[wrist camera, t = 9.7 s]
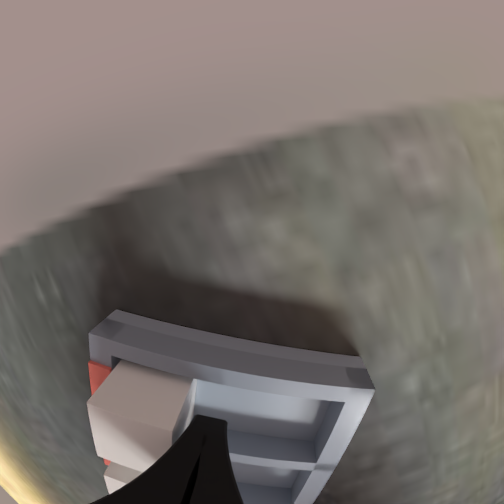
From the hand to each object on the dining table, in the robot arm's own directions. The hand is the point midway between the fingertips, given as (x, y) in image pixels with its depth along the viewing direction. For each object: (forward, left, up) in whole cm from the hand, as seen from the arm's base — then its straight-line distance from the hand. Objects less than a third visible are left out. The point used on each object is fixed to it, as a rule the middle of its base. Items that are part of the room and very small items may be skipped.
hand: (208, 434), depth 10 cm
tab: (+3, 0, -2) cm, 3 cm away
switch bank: (0, +4, -3) cm, 6 cm away
